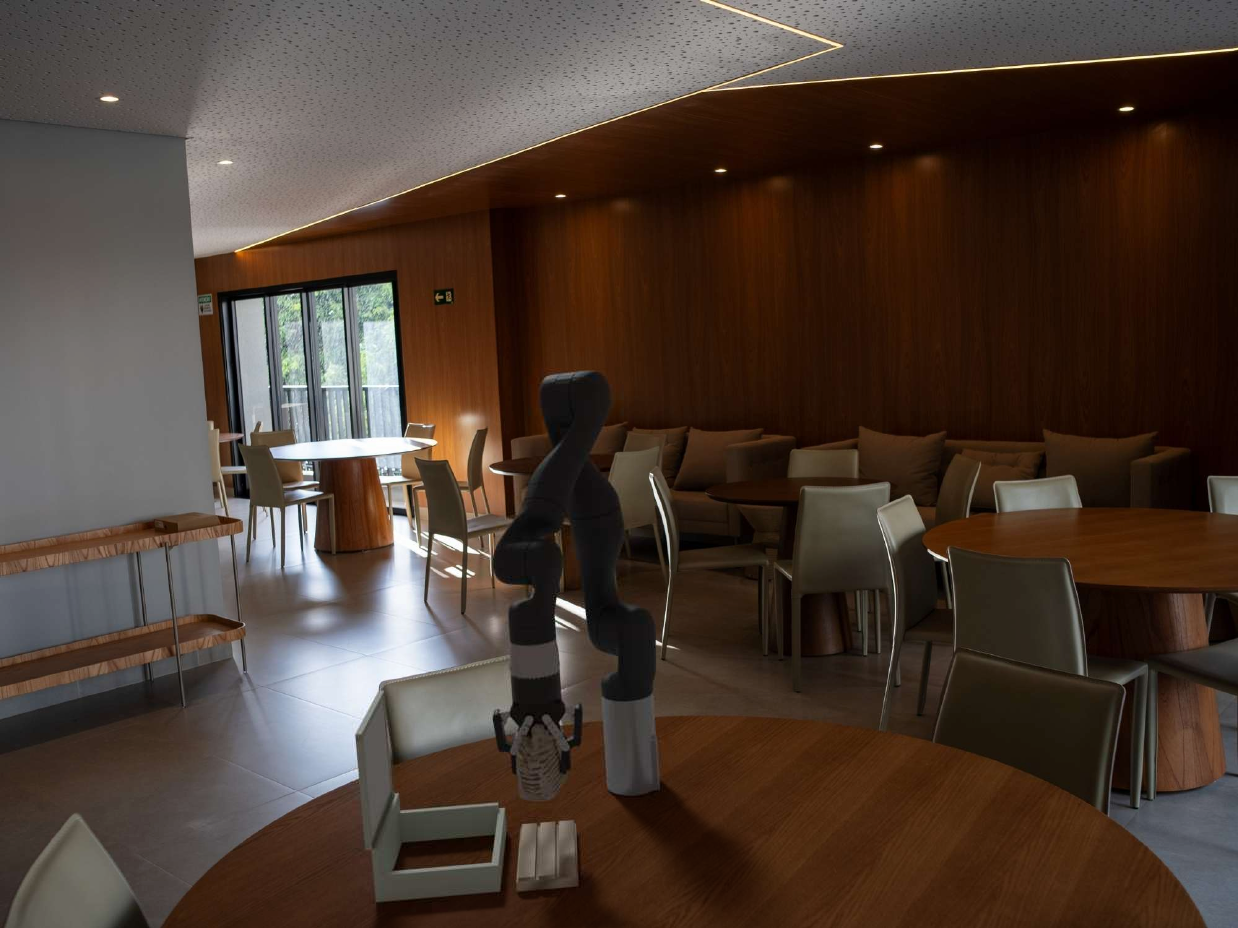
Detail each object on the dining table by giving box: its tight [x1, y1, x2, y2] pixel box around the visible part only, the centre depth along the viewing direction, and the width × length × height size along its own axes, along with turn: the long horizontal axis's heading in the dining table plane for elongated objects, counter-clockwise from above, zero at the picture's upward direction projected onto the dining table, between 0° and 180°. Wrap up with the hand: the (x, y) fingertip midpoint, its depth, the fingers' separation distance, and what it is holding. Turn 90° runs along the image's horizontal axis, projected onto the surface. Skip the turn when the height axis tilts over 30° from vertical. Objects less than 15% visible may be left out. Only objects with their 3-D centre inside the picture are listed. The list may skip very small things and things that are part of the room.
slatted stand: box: [516, 819, 580, 892], centre depth 155 cm, size 9×17×2 cm, turn 3°
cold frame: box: [354, 690, 507, 903], centre depth 154 cm, size 19×19×25 cm
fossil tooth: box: [516, 723, 569, 802], centre depth 154 cm, size 12×6×15 cm
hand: (541, 773), depth 154 cm, fingers closed on fossil tooth, 6 cm apart
